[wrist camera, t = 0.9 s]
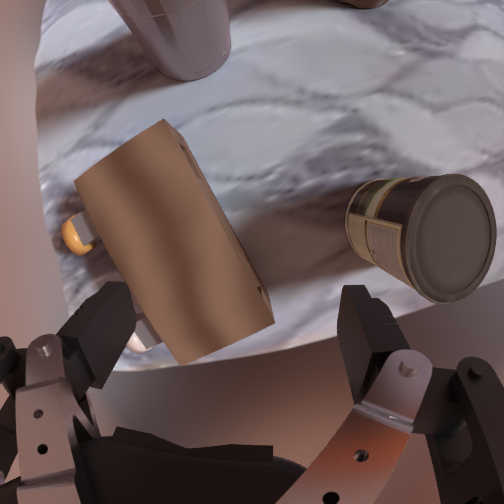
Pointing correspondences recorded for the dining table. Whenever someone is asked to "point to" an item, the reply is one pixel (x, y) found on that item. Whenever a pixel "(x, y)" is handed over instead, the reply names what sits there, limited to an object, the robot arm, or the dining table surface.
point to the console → (174, 244)
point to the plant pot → (365, 3)
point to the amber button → (80, 233)
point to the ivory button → (143, 335)
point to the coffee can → (425, 232)
